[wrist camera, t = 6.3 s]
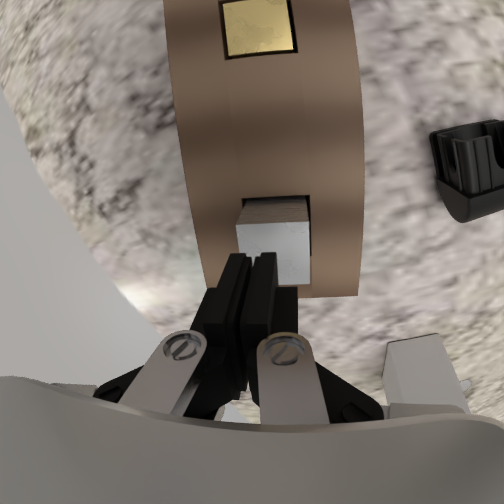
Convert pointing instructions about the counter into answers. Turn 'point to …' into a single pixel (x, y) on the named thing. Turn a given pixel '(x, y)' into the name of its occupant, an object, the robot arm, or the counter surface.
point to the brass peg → (257, 28)
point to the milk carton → (421, 374)
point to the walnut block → (272, 133)
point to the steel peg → (277, 234)
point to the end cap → (470, 168)
